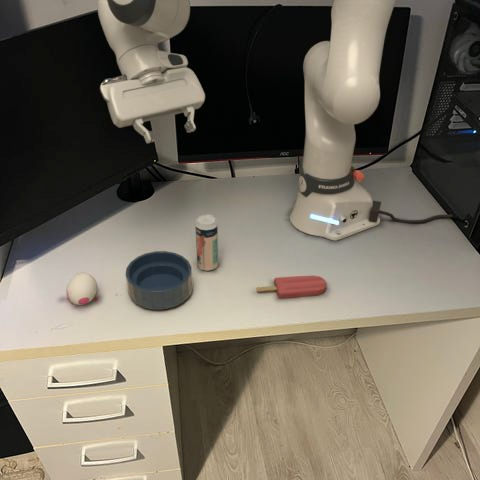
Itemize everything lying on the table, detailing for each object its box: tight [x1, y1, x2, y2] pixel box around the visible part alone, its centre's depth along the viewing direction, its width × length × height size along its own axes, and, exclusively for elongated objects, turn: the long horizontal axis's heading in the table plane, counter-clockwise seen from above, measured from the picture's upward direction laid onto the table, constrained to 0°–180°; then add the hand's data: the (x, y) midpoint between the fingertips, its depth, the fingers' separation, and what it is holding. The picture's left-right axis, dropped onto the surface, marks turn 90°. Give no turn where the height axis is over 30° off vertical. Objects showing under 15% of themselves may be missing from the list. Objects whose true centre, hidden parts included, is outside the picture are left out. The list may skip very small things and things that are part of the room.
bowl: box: [125, 250, 193, 310], centre depth 107 cm, size 13×13×6 cm
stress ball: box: [65, 272, 99, 306], centre depth 105 cm, size 8×8×7 cm
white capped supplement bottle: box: [194, 213, 219, 271], centre depth 111 cm, size 5×5×12 cm
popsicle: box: [256, 275, 328, 299], centre depth 109 cm, size 5×2×15 cm
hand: (172, 136), depth 105 cm, fingers open, 8 cm apart
